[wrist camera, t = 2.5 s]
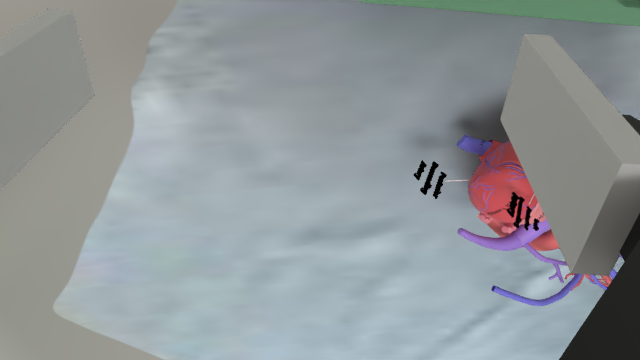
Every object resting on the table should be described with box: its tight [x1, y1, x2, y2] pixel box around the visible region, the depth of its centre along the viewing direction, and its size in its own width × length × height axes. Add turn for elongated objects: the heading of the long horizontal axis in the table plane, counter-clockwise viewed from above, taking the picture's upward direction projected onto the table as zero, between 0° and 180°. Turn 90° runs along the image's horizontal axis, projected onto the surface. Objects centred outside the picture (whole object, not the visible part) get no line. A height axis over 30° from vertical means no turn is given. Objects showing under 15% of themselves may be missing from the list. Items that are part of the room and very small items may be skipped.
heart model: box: [414, 135, 623, 306], centre depth 40 cm, size 17×10×20 cm
